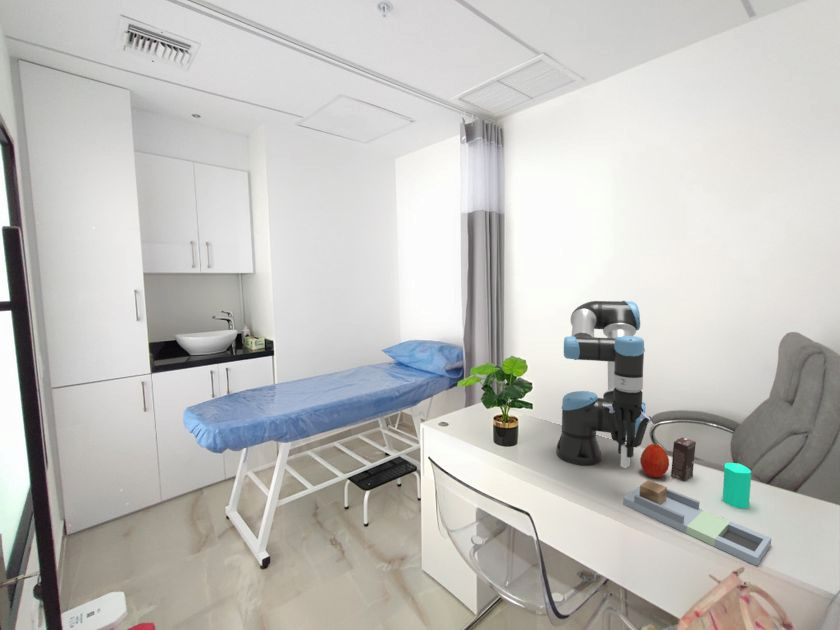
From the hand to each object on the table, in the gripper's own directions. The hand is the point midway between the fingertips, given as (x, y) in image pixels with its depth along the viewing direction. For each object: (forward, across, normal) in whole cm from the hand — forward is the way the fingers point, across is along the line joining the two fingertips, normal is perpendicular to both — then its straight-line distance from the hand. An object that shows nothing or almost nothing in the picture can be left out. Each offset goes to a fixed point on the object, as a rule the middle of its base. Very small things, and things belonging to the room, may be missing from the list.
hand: (625, 465), depth 116 cm
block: (+7, +8, 0) cm, 11 cm away
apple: (+9, 0, +19) cm, 21 cm away
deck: (+9, +17, 0) cm, 19 cm away
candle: (+9, +21, +21) cm, 31 cm away
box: (+9, +6, +25) cm, 27 cm away
